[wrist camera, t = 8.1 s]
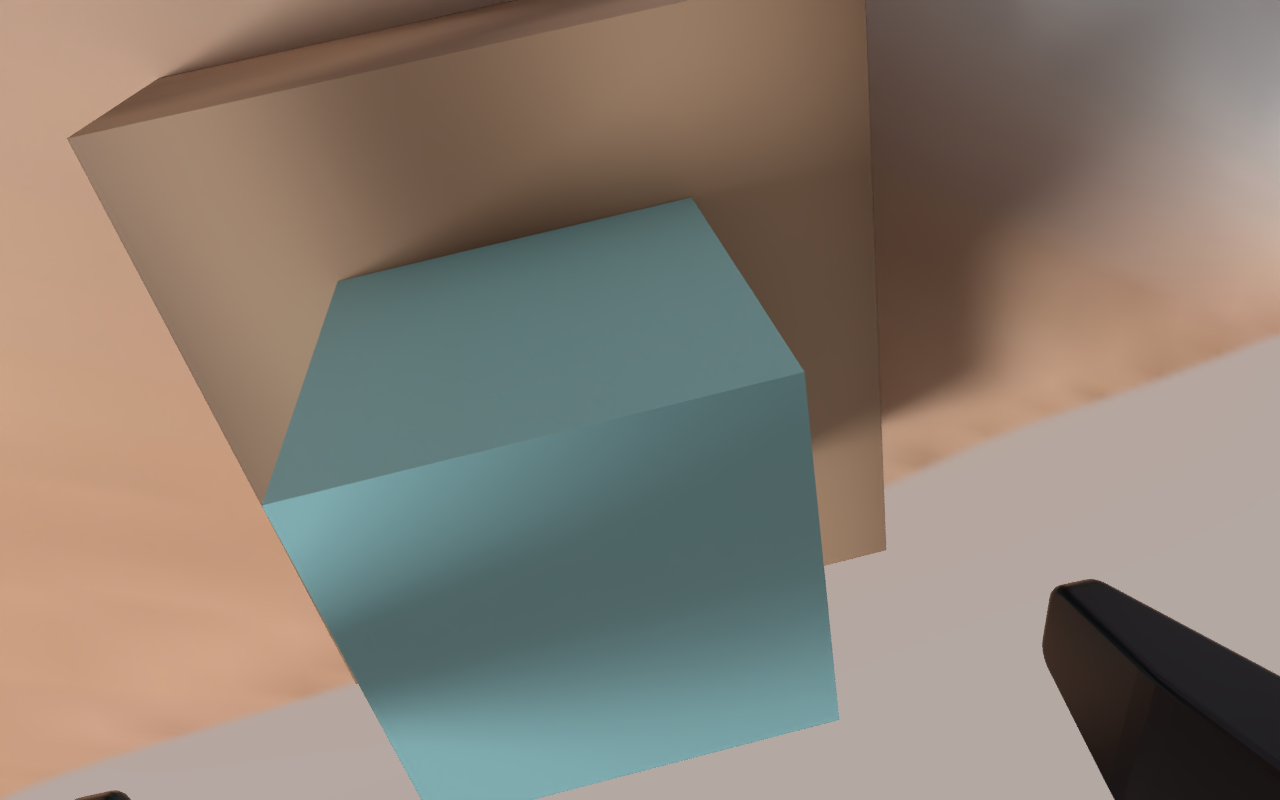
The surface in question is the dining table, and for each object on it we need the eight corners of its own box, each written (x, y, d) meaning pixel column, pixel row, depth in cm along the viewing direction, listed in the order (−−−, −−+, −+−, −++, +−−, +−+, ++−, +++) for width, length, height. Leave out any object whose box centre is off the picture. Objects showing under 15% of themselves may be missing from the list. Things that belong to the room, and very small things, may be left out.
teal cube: (691, 197, 12) (804, 371, 8) (736, 478, 15) (839, 719, 11) (337, 281, 12) (261, 505, 8) (447, 550, 15) (435, 824, 10)
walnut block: (771, -61, 14) (864, -39, 11) (815, 433, 20) (886, 550, 16) (165, 74, 14) (67, 139, 11) (376, 541, 19) (355, 683, 16)
